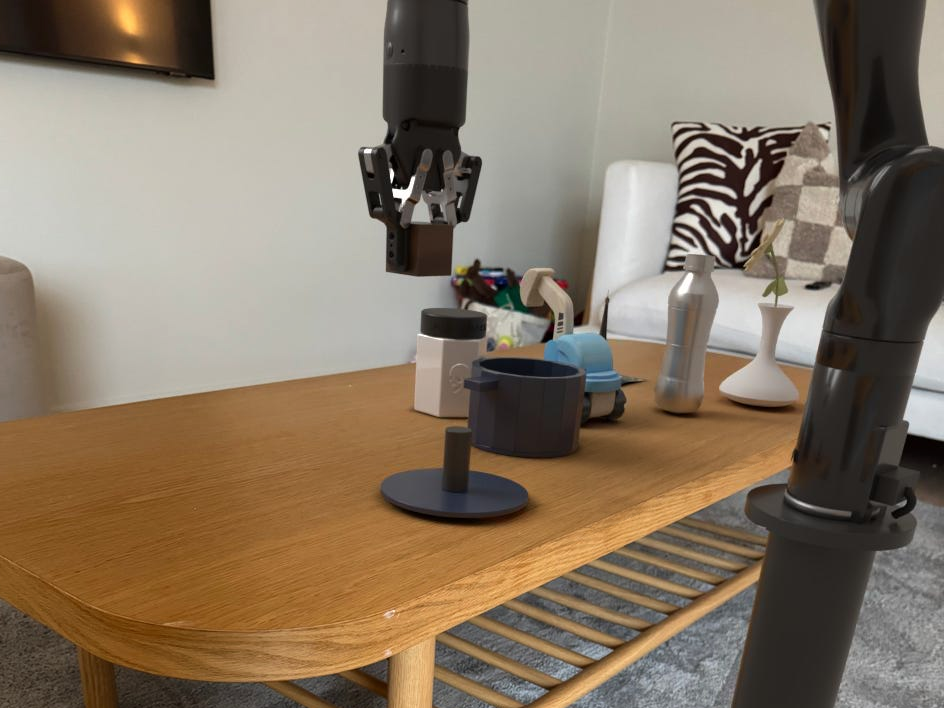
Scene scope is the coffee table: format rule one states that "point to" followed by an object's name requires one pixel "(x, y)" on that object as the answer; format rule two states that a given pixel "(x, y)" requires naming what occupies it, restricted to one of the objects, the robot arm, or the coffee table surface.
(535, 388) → the pot
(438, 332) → the jar
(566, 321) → the toy excavator
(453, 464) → the lid
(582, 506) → the coffee table surface
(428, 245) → the block
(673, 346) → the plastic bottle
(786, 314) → the flower in vase
